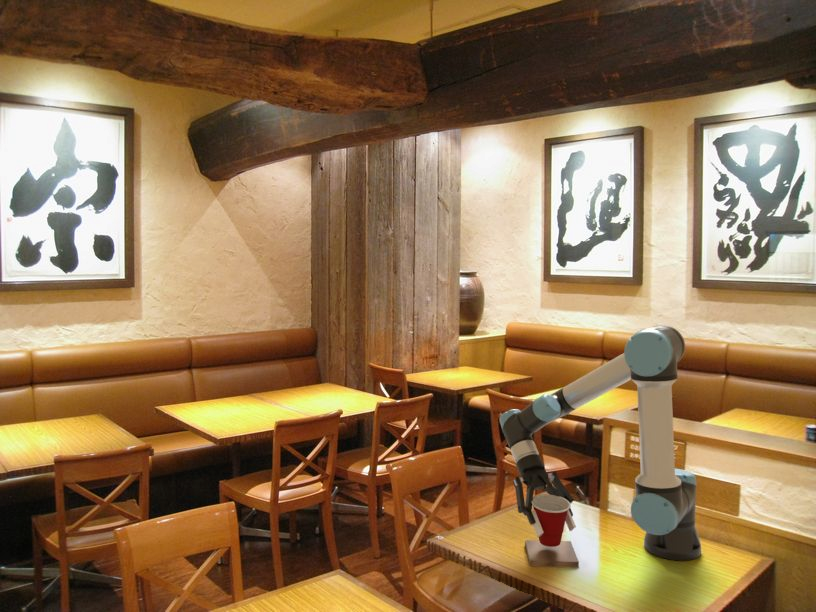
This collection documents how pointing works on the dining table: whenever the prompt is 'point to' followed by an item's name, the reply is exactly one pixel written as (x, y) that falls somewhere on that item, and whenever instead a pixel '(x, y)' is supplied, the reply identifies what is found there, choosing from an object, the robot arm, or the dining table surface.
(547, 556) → the walnut coaster board
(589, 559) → the dining table surface
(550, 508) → the plastic cup
